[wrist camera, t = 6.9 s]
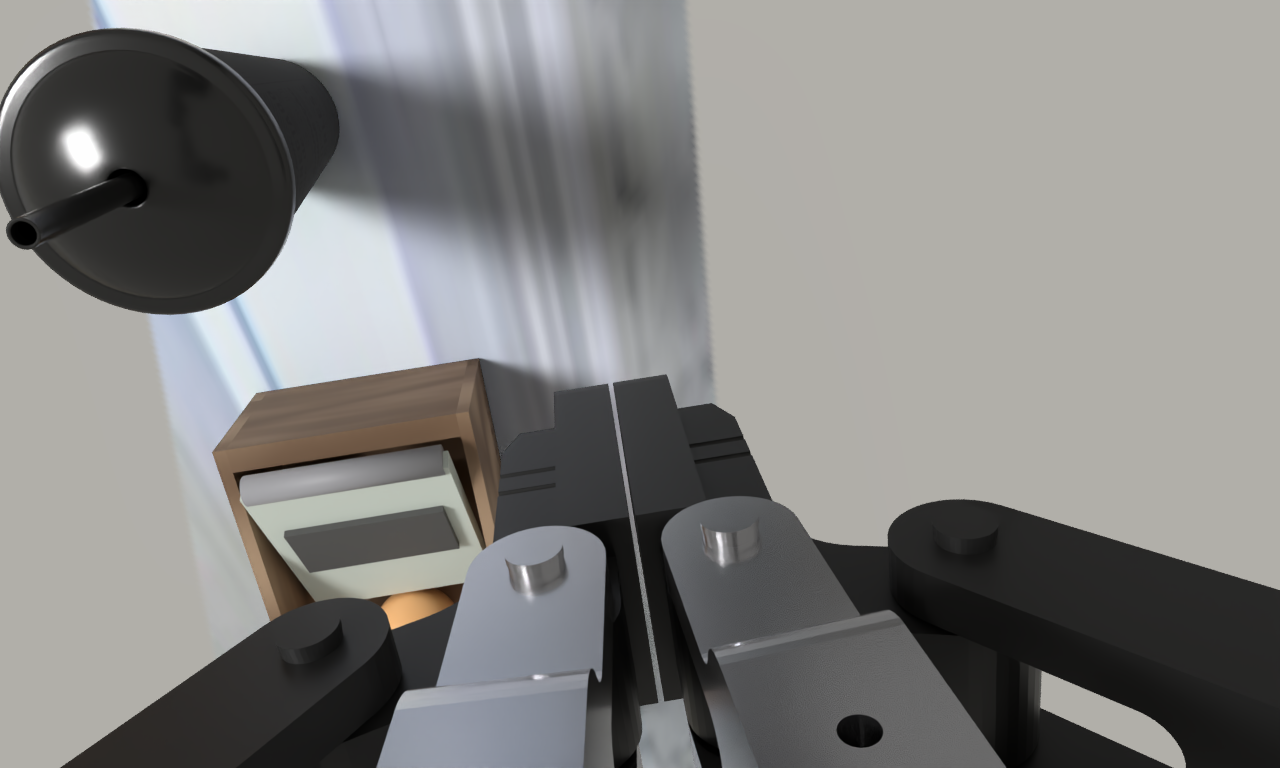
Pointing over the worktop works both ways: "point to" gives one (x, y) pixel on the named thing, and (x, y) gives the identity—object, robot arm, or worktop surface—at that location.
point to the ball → (414, 606)
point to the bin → (360, 448)
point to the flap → (368, 523)
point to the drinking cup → (159, 165)
